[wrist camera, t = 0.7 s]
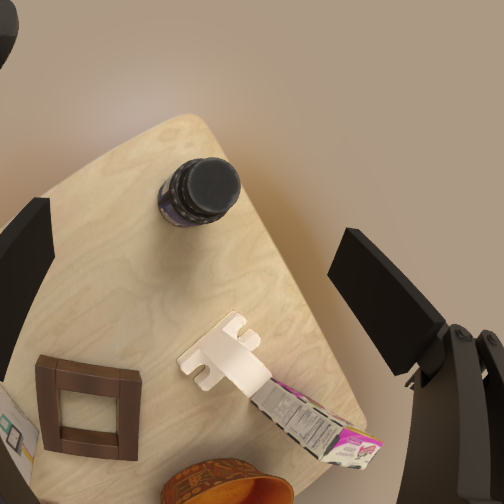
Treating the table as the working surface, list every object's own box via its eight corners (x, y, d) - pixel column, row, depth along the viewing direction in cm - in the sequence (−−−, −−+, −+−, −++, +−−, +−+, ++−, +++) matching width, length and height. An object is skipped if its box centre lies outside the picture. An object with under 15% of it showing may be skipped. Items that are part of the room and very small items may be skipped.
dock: (46, 436, 25) (44, 449, 23) (39, 354, 26) (34, 364, 23) (134, 447, 31) (137, 461, 28) (138, 370, 32) (142, 381, 29)
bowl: (284, 447, 42) (319, 478, 34) (229, 521, 38) (253, 554, 29) (174, 423, 34) (198, 469, 25) (125, 509, 30) (138, 553, 21)
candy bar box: (311, 397, 44) (385, 441, 30) (294, 421, 43) (364, 471, 28) (267, 372, 40) (346, 426, 25) (247, 399, 39) (318, 464, 24)
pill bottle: (212, 220, 35) (256, 213, 25) (163, 233, 33) (188, 231, 23) (200, 170, 34) (240, 144, 24) (151, 180, 32) (171, 155, 22)
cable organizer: (255, 336, 39) (299, 362, 30) (201, 386, 35) (232, 427, 26) (233, 308, 37) (275, 330, 28) (174, 360, 34) (200, 400, 25)
